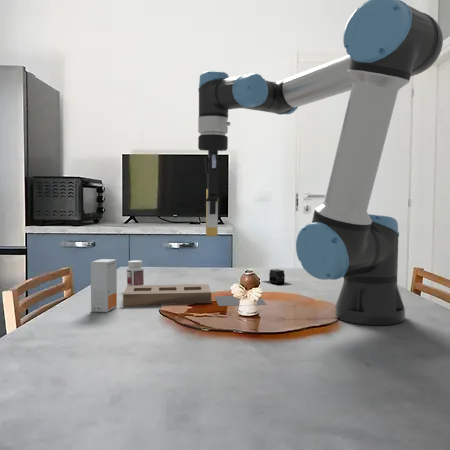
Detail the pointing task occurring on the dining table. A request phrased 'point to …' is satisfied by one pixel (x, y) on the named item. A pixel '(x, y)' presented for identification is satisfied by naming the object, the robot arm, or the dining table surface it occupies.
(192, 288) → the block
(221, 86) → the robot arm
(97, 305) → the skincare box
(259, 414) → the dining table surface
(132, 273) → the pill bottle
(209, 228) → the peg
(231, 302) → the mat
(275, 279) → the black box
